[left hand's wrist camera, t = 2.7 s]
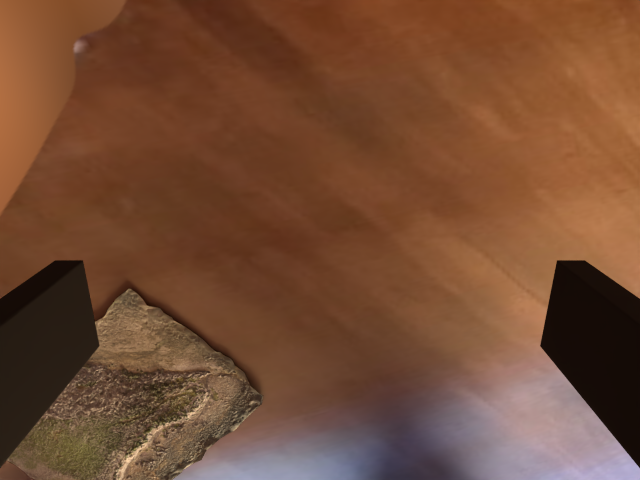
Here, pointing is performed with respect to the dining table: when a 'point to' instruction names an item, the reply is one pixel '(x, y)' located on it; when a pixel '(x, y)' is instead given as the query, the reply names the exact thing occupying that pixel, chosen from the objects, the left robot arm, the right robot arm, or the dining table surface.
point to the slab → (138, 403)
